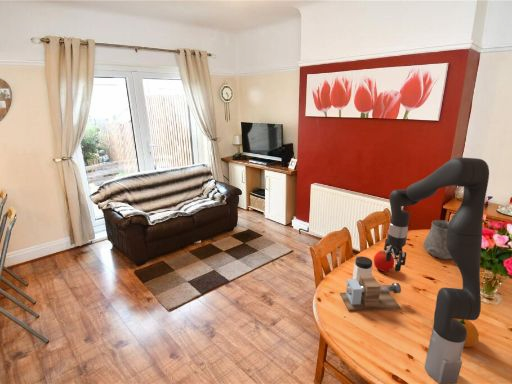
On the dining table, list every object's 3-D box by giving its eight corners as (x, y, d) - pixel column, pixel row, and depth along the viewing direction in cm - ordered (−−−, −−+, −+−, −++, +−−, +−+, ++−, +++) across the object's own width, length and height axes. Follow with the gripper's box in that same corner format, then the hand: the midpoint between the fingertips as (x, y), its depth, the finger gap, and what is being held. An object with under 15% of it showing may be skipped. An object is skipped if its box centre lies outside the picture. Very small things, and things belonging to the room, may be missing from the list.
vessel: (411, 251, 185) (416, 221, 179) (433, 243, 195) (438, 215, 189) (446, 267, 167) (453, 235, 161) (468, 258, 177) (475, 227, 171)
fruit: (434, 333, 120) (439, 313, 117) (453, 325, 125) (458, 305, 122) (463, 355, 110) (469, 333, 107) (483, 345, 115) (489, 324, 112)
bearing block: (400, 309, 134) (404, 287, 131) (348, 311, 133) (351, 289, 129) (388, 292, 146) (391, 272, 142) (340, 294, 144) (342, 274, 141)
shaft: (395, 289, 141) (396, 281, 139) (400, 295, 136) (401, 286, 135) (345, 290, 140) (346, 282, 138) (348, 297, 135) (349, 288, 134)
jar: (362, 287, 150) (365, 266, 146) (349, 279, 156) (351, 259, 153) (373, 281, 155) (376, 261, 151) (360, 274, 161) (362, 254, 158)
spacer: (360, 304, 135) (362, 289, 132) (351, 304, 134) (353, 289, 132) (354, 293, 142) (355, 278, 140) (345, 293, 142) (347, 279, 140)
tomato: (390, 265, 169) (393, 248, 166) (394, 275, 160) (397, 257, 156) (371, 263, 172) (373, 246, 169) (373, 272, 162) (376, 255, 159)
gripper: (415, 240, 122) (408, 274, 127) (397, 226, 136) (392, 257, 141) (397, 241, 122) (391, 275, 127) (381, 226, 136) (377, 258, 141)
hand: (392, 265), depth 134 cm, fingers open, 8 cm apart
